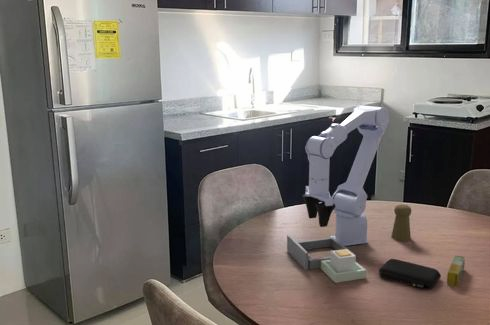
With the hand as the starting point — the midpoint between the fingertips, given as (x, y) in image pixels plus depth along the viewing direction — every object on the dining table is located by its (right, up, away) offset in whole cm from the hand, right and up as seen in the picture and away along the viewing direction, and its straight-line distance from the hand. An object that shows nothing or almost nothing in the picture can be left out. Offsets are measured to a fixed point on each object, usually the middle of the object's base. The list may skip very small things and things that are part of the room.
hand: (317, 222), depth 144 cm
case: (+1, -10, 0) cm, 10 cm away
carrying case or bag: (+22, -14, -14) cm, 29 cm away
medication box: (+35, -13, -14) cm, 40 cm away
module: (+5, -12, -11) cm, 17 cm away
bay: (+5, -13, -11) cm, 18 cm away
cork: (+29, -7, +14) cm, 33 cm away
